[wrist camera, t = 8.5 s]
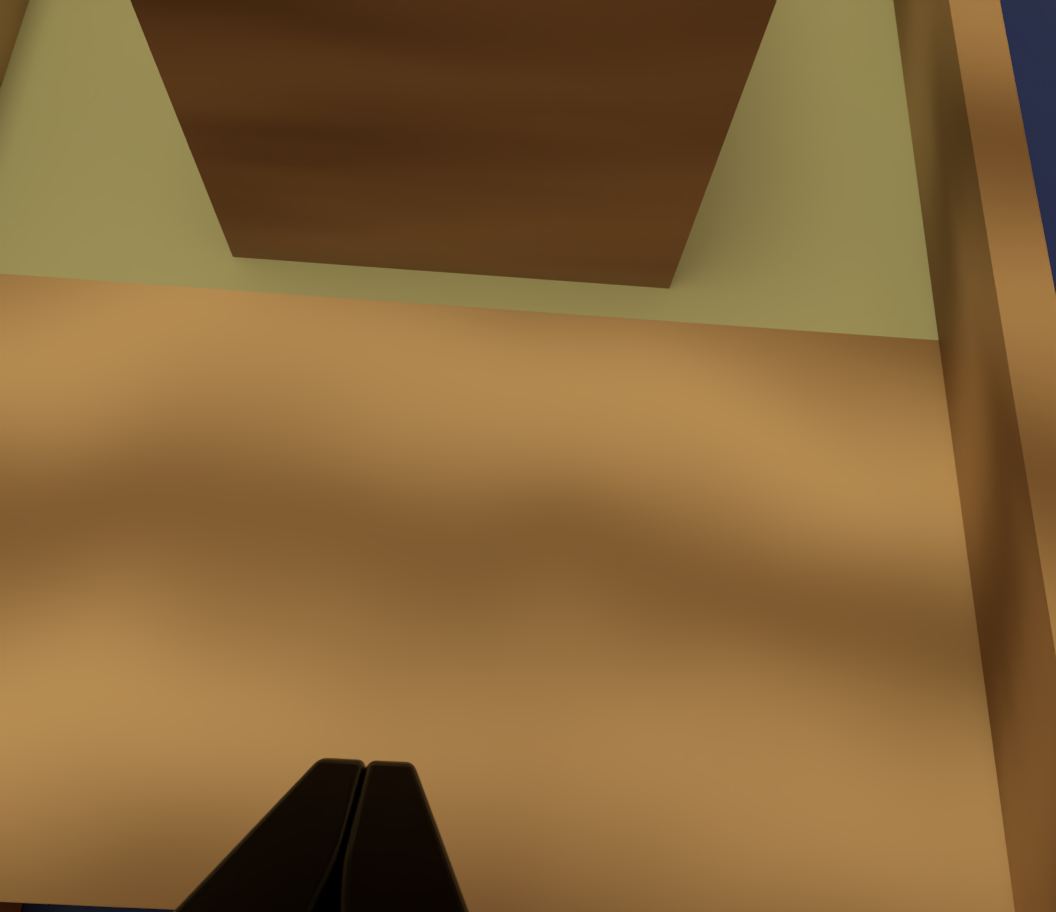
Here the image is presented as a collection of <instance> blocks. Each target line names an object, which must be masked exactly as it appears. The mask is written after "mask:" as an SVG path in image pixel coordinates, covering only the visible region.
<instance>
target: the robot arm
mask: <svg viewBox="0 0 1056 912" xmlns="http://www.w3.org/2000/svg"><path fill="white" fill-rule="evenodd" d="M173 912H469V910H468V907H467V904H466V901H465V899H464V896H463V893H462V891H461V888H460V885H459V883H458V880H457V877H456V875H455V872H454V869H453V867H452V864H451V861H450V858H449V856H448V853H447V850H446V848H445V845H444V842H443V840H442V837H441V834H440V832H439V829H438V826H437V823H436V821H435V818H434V815H433V813H432V810H431V807H430V805H429V802H428V799H427V797H426V794H425V791H424V789H423V786H422V783H421V780H420V778H419V775H418V772H417V770H416V768H415V767H414V765H413V764H411V763H410V762H399V761H380V760H375V761H372V762H370V763H369V764H368V765H367V767H366V766H365V764H364V762H363V761H361V760H358V759H340V758H322V759H320V760H318V761H316V762H315V763H314V764H313V765H312V766H311V767H310V768H309V769H308V771H307V772H306V773H305V774H304V775H303V776H302V777H301V778H300V779H299V780H298V781H297V782H296V783H295V784H294V785H293V786H292V787H291V788H290V789H289V790H288V792H287V793H286V794H285V795H284V796H283V797H282V798H281V799H280V800H279V801H278V802H277V803H276V804H275V805H274V806H273V807H272V808H271V809H270V810H269V811H268V813H267V814H266V815H265V816H264V817H263V818H262V819H261V820H260V821H259V822H258V823H257V824H256V825H255V826H254V827H253V828H252V829H251V830H250V831H249V832H248V833H247V835H246V836H245V837H244V838H243V839H242V840H241V841H240V842H239V843H238V844H237V845H236V846H235V847H234V848H233V849H232V850H231V851H230V852H229V853H228V854H227V856H226V857H225V858H224V859H223V860H222V861H221V862H220V863H219V864H218V865H217V866H216V867H215V868H214V869H213V870H212V871H211V872H210V873H209V874H208V875H207V877H206V878H205V879H204V880H203V881H202V882H201V883H200V884H199V885H198V886H197V887H196V888H195V889H194V890H193V891H192V892H191V893H190V894H189V895H188V896H187V898H186V899H185V900H184V901H183V902H182V903H181V904H180V905H179V906H178V907H177V908H176V909H175V910H174V911H173Z"/></svg>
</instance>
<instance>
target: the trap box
mask: <svg viewBox="0 0 1056 912" xmlns="http://www.w3.org/2000/svg"><path fill="white" fill-rule="evenodd" d="M322 758H340V759H358V760H361V761H363V762H364V764H365V766H366V767H367V765H368V764H369V763H370V762H372V761H375V760H380V761H399V762H410V763H411V764H413V765H414V767H415V768H416V770H417V772H418V775H419V778H420V780H421V783H422V786H423V789H424V791H425V794H426V797H427V799H428V802H429V805H430V807H431V810H432V813H433V815H434V818H435V821H436V823H437V826H438V829H439V832H440V834H441V837H442V840H443V842H444V845H445V848H446V850H447V853H448V856H449V858H450V861H451V864H452V867H453V869H454V872H455V875H456V877H457V880H458V883H459V885H460V888H461V891H462V893H463V896H464V899H465V901H466V904H467V907H468V910H469V912H1056V295H1055V289H1054V284H1053V279H1052V273H1051V268H1050V263H1049V258H1048V252H1047V247H1046V242H1045V237H1044V231H1043V226H1042V221H1041V216H1040V210H1039V205H1038V200H1037V195H1036V189H1035V184H1034V179H1033V174H1032V168H1031V163H1030V158H1029V152H1028V147H1027V142H1026V137H1025V131H1024V126H1023V121H1022V116H1021V110H1020V105H1019V100H1018V95H1017V89H1016V84H1015V79H1014V74H1013V68H1012V63H1011V58H1010V53H1009V47H1008V42H1007V37H1006V32H1005V26H1004V21H1003V16H1002V10H1001V5H1000V0H777V1H776V4H775V7H774V9H773V12H772V15H771V17H770V20H769V23H768V25H767V28H766V31H765V33H764V36H763V39H762V41H761V44H760V47H759V50H758V52H757V55H756V58H755V60H754V63H753V66H752V68H751V71H750V74H749V76H748V79H747V82H746V84H745V87H744V90H743V92H742V95H741V98H740V100H739V103H738V106H737V108H736V111H735V114H734V117H733V119H732V122H731V125H730V127H729V130H728V133H727V135H726V138H725V141H724V143H723V146H722V149H721V151H720V154H719V157H718V159H717V162H716V165H715V167H714V170H713V173H712V175H711V178H710V181H709V184H708V186H707V189H706V192H705V194H704V197H703V200H702V202H701V205H700V208H699V210H698V213H697V216H696V218H695V221H694V224H693V226H692V229H691V232H690V234H689V237H688V240H687V242H686V245H685V248H684V251H683V253H682V256H681V259H680V261H679V264H678V267H677V269H676V272H675V275H674V277H673V280H672V283H671V285H670V288H669V289H667V288H653V287H640V286H626V285H612V284H598V283H584V282H571V281H557V280H543V279H529V278H515V277H502V276H488V275H474V274H460V273H446V272H433V271H419V270H405V269H391V268H378V267H364V266H350V265H336V264H322V263H309V262H295V261H281V260H267V259H253V258H240V257H233V256H232V253H231V251H230V248H229V246H228V243H227V241H226V238H225V236H224V233H223V231H222V228H221V226H220V223H219V221H218V218H217V216H216V213H215V211H214V208H213V206H212V203H211V201H210V198H209V196H208V193H207V191H206V188H205V186H204V183H203V181H202V178H201V176H200V173H199V171H198V168H197V166H196V163H195V161H194V158H193V156H192V153H191V151H190V148H189V146H188V143H187V141H186V138H185V136H184V133H183V131H182V128H181V126H180V123H179V121H178V118H177V116H176V113H175V111H174V108H173V106H172V103H171V101H170V98H169V96H168V93H167V91H166V88H165V86H164V83H163V81H162V78H161V76H160V73H159V71H158V68H157V66H156V63H155V61H154V58H153V56H152V53H151V51H150V48H149V46H148V43H147V41H146V38H145V36H144V33H143V31H142V28H141V26H140V23H139V21H138V18H137V16H136V13H135V11H134V8H133V6H132V3H131V1H130V0H0V912H21V908H22V904H23V903H38V904H60V905H82V906H105V907H127V908H149V909H172V910H175V909H176V908H177V907H178V906H179V905H180V904H181V903H182V902H183V901H184V900H185V899H186V898H187V896H188V895H189V894H190V893H191V892H192V891H193V890H194V889H195V888H196V887H197V886H198V885H199V884H200V883H201V882H202V881H203V880H204V879H205V878H206V877H207V875H208V874H209V873H210V872H211V871H212V870H213V869H214V868H215V867H216V866H217V865H218V864H219V863H220V862H221V861H222V860H223V859H224V858H225V857H226V856H227V854H228V853H229V852H230V851H231V850H232V849H233V848H234V847H235V846H236V845H237V844H238V843H239V842H240V841H241V840H242V839H243V838H244V837H245V836H246V835H247V833H248V832H249V831H250V830H251V829H252V828H253V827H254V826H255V825H256V824H257V823H258V822H259V821H260V820H261V819H262V818H263V817H264V816H265V815H266V814H267V813H268V811H269V810H270V809H271V808H272V807H273V806H274V805H275V804H276V803H277V802H278V801H279V800H280V799H281V798H282V797H283V796H284V795H285V794H286V793H287V792H288V790H289V789H290V788H291V787H292V786H293V785H294V784H295V783H296V782H297V781H298V780H299V779H300V778H301V777H302V776H303V775H304V774H305V773H306V772H307V771H308V769H309V768H310V767H311V766H312V765H313V764H314V763H315V762H316V761H318V760H320V759H322Z"/></svg>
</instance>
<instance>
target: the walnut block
mask: <svg viewBox="0 0 1056 912" xmlns="http://www.w3.org/2000/svg"><path fill="white" fill-rule="evenodd" d="M130 1H131V3H132V6H133V8H134V11H135V13H136V16H137V18H138V21H139V23H140V26H141V28H142V31H143V33H144V36H145V38H146V41H147V43H148V46H149V48H150V51H151V53H152V56H153V58H154V61H155V63H156V66H157V68H158V71H159V73H160V76H161V78H162V81H163V83H164V86H165V88H166V91H167V93H168V96H169V98H170V101H171V103H172V106H173V108H174V111H175V113H176V116H177V118H178V121H179V123H180V126H181V128H182V131H183V133H184V136H185V138H186V141H187V143H188V146H189V148H190V151H191V153H192V156H193V158H194V161H195V163H196V166H197V168H198V171H199V173H200V176H201V178H202V181H203V183H204V186H205V188H206V191H207V193H208V196H209V198H210V201H211V203H212V206H213V208H214V211H215V213H216V216H217V218H218V221H219V223H220V226H221V228H222V231H223V233H224V236H225V238H226V241H227V243H228V246H229V248H230V251H231V253H232V256H233V257H240V258H253V259H267V260H281V261H295V262H309V263H322V264H336V265H350V266H364V267H378V268H391V269H405V270H419V271H433V272H446V273H460V274H474V275H488V276H502V277H515V278H529V279H543V280H557V281H571V282H584V283H598V284H612V285H626V286H640V287H653V288H667V289H669V288H670V285H671V283H672V280H673V277H674V275H675V272H676V269H677V267H678V264H679V261H680V259H681V256H682V253H683V251H684V248H685V245H686V242H687V240H688V237H689V234H690V232H691V229H692V226H693V224H694V221H695V218H696V216H697V213H698V210H699V208H700V205H701V202H702V200H703V197H704V194H705V192H706V189H707V186H708V184H709V181H710V178H711V175H712V173H713V170H714V167H715V165H716V162H717V159H718V157H719V154H720V151H721V149H722V146H723V143H724V141H725V138H726V135H727V133H728V130H729V127H730V125H731V122H732V119H733V117H734V114H735V111H736V108H737V106H738V103H739V100H740V98H741V95H742V92H743V90H744V87H745V84H746V82H747V79H748V76H749V74H750V71H751V68H752V66H753V63H754V60H755V58H756V55H757V52H758V50H759V47H760V44H761V41H762V39H763V36H764V33H765V31H766V28H767V25H768V23H769V20H770V17H771V15H772V12H773V9H774V7H775V4H776V1H777V0H130Z"/></svg>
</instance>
